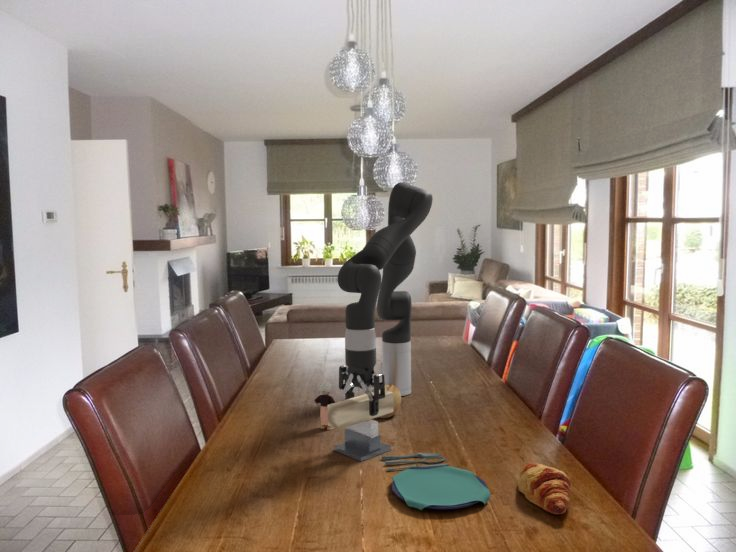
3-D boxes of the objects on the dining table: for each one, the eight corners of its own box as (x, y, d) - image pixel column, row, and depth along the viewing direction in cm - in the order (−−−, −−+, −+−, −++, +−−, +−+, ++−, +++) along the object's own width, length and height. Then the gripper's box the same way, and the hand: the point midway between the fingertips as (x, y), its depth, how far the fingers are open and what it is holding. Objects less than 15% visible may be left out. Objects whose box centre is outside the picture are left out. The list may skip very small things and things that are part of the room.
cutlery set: (404, 522, 113) (404, 510, 113) (373, 462, 142) (372, 452, 142) (504, 511, 116) (504, 500, 116) (453, 455, 146) (453, 446, 146)
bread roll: (399, 403, 184) (399, 378, 184) (403, 419, 169) (402, 392, 169) (368, 404, 184) (367, 378, 183) (369, 420, 169) (368, 393, 169)
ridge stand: (333, 450, 148) (333, 418, 147) (363, 439, 155) (363, 409, 154) (361, 461, 141) (360, 428, 140) (391, 449, 147) (390, 418, 147)
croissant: (516, 489, 133) (499, 459, 132) (556, 467, 133) (539, 437, 132) (548, 538, 112) (528, 502, 111) (595, 512, 112) (576, 476, 111)
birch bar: (327, 425, 142) (327, 404, 142) (382, 408, 154) (382, 389, 154) (338, 429, 139) (338, 408, 139) (393, 411, 151) (393, 392, 151)
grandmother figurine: (341, 426, 165) (341, 381, 164) (336, 431, 161) (335, 384, 160) (316, 423, 167) (315, 379, 166) (310, 428, 164) (309, 382, 162)
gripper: (392, 347, 142) (393, 414, 144) (352, 339, 153) (353, 401, 154) (369, 353, 137) (370, 422, 139) (329, 344, 148) (331, 408, 149)
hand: (361, 411), depth 147 cm, fingers open, 8 cm apart
